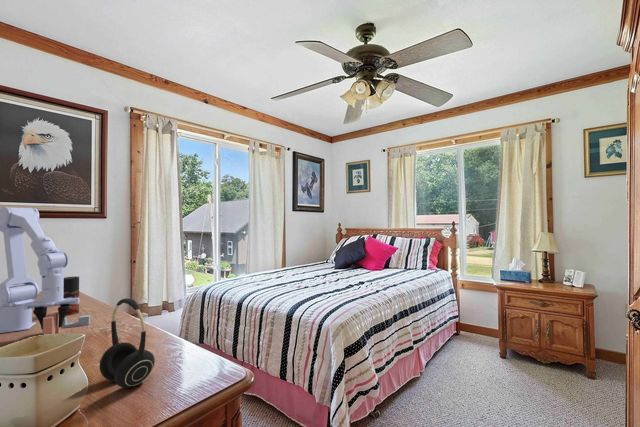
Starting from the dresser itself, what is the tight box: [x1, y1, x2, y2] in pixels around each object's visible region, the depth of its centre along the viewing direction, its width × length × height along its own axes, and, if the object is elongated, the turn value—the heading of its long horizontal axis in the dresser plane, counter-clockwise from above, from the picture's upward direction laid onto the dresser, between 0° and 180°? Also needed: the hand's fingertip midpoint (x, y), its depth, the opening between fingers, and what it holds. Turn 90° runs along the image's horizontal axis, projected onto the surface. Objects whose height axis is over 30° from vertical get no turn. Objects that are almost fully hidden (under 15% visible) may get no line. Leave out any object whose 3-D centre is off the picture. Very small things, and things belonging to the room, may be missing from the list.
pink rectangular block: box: [42, 309, 62, 335], centre depth 106 cm, size 2×10×7 cm, turn 27°
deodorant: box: [63, 276, 80, 317], centre depth 131 cm, size 6×6×15 cm
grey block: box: [61, 314, 91, 329], centre depth 115 cm, size 10×2×3 cm, turn 117°
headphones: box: [99, 298, 156, 389], centre depth 75 cm, size 9×15×20 cm, turn 58°
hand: (52, 327), depth 106 cm, fingers open, 4 cm apart
